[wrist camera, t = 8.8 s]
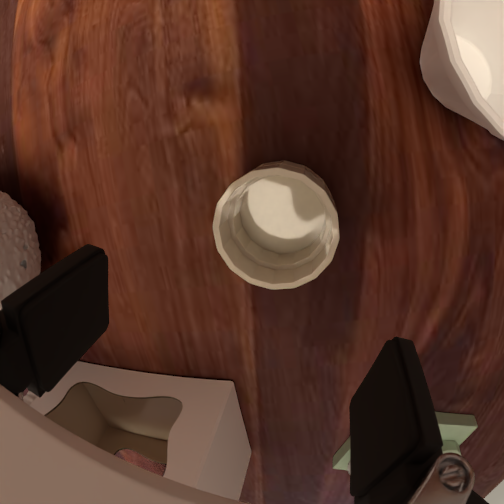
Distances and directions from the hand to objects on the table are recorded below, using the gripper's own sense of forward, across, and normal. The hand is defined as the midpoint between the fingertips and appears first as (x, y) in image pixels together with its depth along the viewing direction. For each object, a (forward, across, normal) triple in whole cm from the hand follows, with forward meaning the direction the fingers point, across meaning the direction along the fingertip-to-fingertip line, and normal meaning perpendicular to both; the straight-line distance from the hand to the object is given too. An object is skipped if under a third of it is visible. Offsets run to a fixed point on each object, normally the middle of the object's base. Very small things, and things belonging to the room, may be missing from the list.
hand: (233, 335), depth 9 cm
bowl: (+14, 0, 0) cm, 14 cm away
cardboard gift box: (+14, +8, +27) cm, 32 cm away
